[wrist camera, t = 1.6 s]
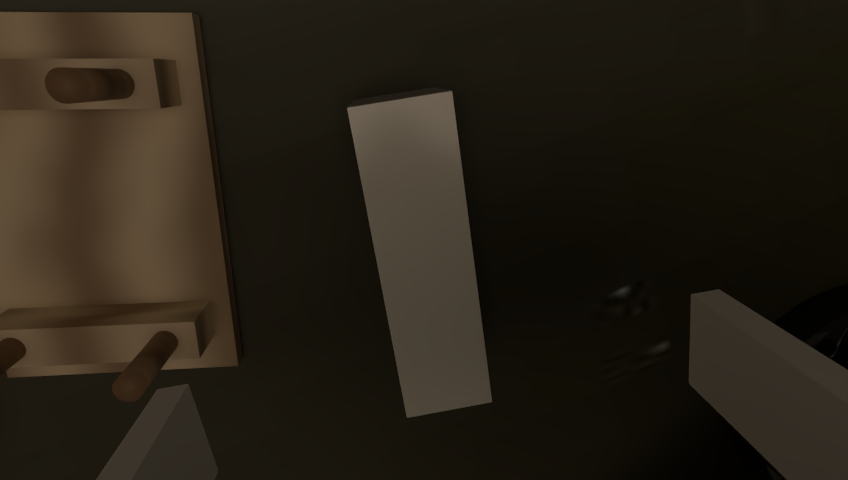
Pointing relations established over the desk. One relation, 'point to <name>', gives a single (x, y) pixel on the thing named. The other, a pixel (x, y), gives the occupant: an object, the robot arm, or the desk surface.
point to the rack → (110, 200)
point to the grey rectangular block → (423, 246)
